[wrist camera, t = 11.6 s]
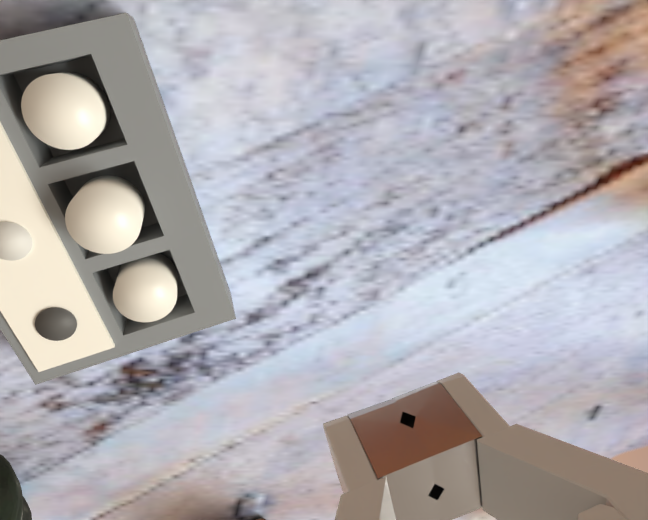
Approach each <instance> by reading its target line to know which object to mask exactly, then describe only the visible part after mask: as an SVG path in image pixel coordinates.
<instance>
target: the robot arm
mask: <svg viewBox="0 0 648 520" xmlns="http://www.w3.org/2000/svg"><path fill="white" fill-rule="evenodd" d="M323 427H324V431H325V434H326V438H327V441H328V445H329V448H330V452H331V455H332V459H333V462H334V465H335V469H336V472H337V475H338V478H339V481H340V485H341V488H342V491H343V493H344V494H342V495H341V497H340V501H339V505H338V509H337V513H336V517H335V520H452V519H455V518H457V517H460V516H462V515H465V514H468V513H470V512H473V511H475V510H478V509H480V508H483V510H484V511H485V512H487V513H488V514H490V515H491V516H493V517H495V518H496V519H498V520H648V473H646V472H643V471H641V470H638V469H635V468H633V467H630V466H627V465H625V464H622V463H619V462H617V461H614V460H611V459H609V458H606V457H604V456H601V455H598V454H596V453H593V452H590V451H588V450H585V449H582V448H580V447H577V446H574V445H572V444H569V443H566V442H564V441H561V440H558V439H556V438H553V437H551V436H548V435H545V434H543V433H540V432H537V431H535V430H532V429H529V428H527V427H524V426H521V425H519V424H515V425H512V426H509V425H508V424H507V423H506V421H505V420H504V419H503V418H502V417H501V416H500V415H499V414H498V412H497V411H496V410H495V409H494V408H493V407H492V406H491V405H490V404H489V402H488V401H487V400H486V399H485V398H484V397H483V396H482V395H481V394H480V392H479V391H478V390H477V389H476V388H475V387H474V386H473V385H472V383H471V382H470V381H469V380H468V379H467V378H466V377H465V376H464V375H463V374H461V373H456V374H454V375H451V376H449V377H446V378H443V379H441V380H438V381H437V382H433V383H431V384H428V385H426V386H423V387H420V388H418V389H415V390H413V391H410V392H408V393H405V394H402V395H400V396H397V397H395V398H392V399H391V400H388V401H385V402H382V403H379V404H376V405H373V406H371V407H368V408H365V409H362V410H359V411H356V412H353V413H351V414H348V415H347V416H344V417H341V418H338V419H335V420H332V421H329V422H326V423H323Z"/></svg>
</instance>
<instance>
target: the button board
mask: <svg viewBox="0 0 648 520" xmlns="http://www.w3.org/2000/svg"><path fill="white" fill-rule="evenodd" d="M62 72H73V73H78V74H81V75H84V76H86V77H88V78H90V79H91V80H93V81H94V82H95V83H96V84H97V85H98V86H99V87H100V88H101V89H102V90H103V92H104V93H105V95H106V97H107V99H108V102H109V105H110V119H109V123H108V125H107V127H106V129H105V130H104V131H103V132H102V133H101V134H100V135H99V136H98V137H97V138H96V139H95V140H94V141H93V142H92V143H90V144H89V145H87V146H85V147H82V148H79V149H74V150H64V149H58V148H55V147H52V146H50V145H48V144H46V143H44V142H42V141H41V140H40V139H38V138H37V137H36V136H35V135H34V134H33V133H32V132H31V131H30V129H29V128H28V126H27V125H26V123H25V121H24V118H23V115H22V110H21V101H22V96H23V93H24V91H25V89H26V88H27V86H28V85H29V84H30V83H31V82H32V81H33V80H35V79H36V78H38V77H40V76H43V75H47V74H54V73H62ZM106 175H109V176H117V177H120V178H123V179H125V180H127V181H129V182H130V183H132V184H133V185H134V186H135V187H136V188H137V189H138V190H139V192H140V193H141V195H142V197H143V200H144V204H145V214H144V218H143V222H142V226H141V230H140V233H139V236H138V238H137V239H136V241H135V242H134V243H133V244H132V245H131V246H130V247H128V248H127V249H125V250H123V251H120V252H117V253H112V254H100V253H95V252H92V251H89V250H87V249H85V248H83V247H82V246H80V245H79V244H78V243H77V242H76V241H75V240H74V239H73V238H72V237H71V235H70V234H69V232H68V230H67V227H66V223H65V213H66V209H67V207H68V205H69V203H70V201H71V200H72V199H73V198H74V196H75V195H76V194H77V192H78V191H79V190H80V189H81V187H82V186H83V185H84V184H85V183H86V182H88V181H89V180H91V179H93V178H95V177H99V176H106ZM157 253H160V254H162V255H164V256H166V257H167V258H168V259H169V260H171V262H172V263H173V264H174V266H175V268H176V270H177V275H178V281H177V301H176V304H175V306H174V308H173V309H172V311H171V312H170V313H169V314H168V315H166V316H165V317H163V318H162V319H159V320H157V321H153V322H137V321H133V320H131V319H128V318H127V317H125V316H124V315H122V314H121V313H120V312H119V311H118V309H117V308H116V306H115V304H114V301H113V289H114V286H115V283H116V279H117V276H118V273H119V269H120V267H121V265H122V264H124V263H127V262H130V261H134V260H137V259H140V258H144V257H147V256H150V255H154V254H157ZM233 319H236V317H235V312H234V307H233V302H232V297H231V293H230V290H229V287H228V284H227V282H226V279H225V276H224V273H223V270H222V267H221V265H220V262H219V259H218V256H217V253H216V250H215V248H214V245H213V242H212V239H211V236H210V233H209V231H208V228H207V225H206V222H205V219H204V216H203V213H202V211H201V208H200V205H199V202H198V199H197V196H196V194H195V191H194V188H193V185H192V182H191V179H190V177H189V174H188V171H187V168H186V165H185V162H184V160H183V157H182V154H181V151H180V148H179V145H178V143H177V140H176V137H175V134H174V131H173V128H172V126H171V123H170V120H169V117H168V114H167V111H166V109H165V106H164V103H163V100H162V97H161V94H160V92H159V89H158V86H157V83H156V80H155V77H154V75H153V72H152V69H151V66H150V63H149V60H148V57H147V55H146V52H145V49H144V46H143V43H142V40H141V38H140V35H139V32H138V29H137V26H136V23H135V21H134V18H133V17H132V16H130V15H129V14H128V13H123V14H118V15H114V16H109V17H105V18H100V19H96V20H91V21H86V22H82V23H77V24H73V25H68V26H64V27H59V28H54V29H50V30H45V31H41V32H36V33H32V34H27V35H23V36H18V37H13V38H9V39H4V40H0V330H1V331H2V333H3V335H4V336H5V338H6V339H7V341H8V342H9V344H10V345H11V347H12V349H13V350H14V352H15V353H16V355H17V356H18V358H19V360H20V361H21V363H22V364H23V366H24V367H25V369H26V370H27V372H28V374H29V375H30V377H31V378H32V380H33V381H34V383H35V385H36V384H39V383H42V382H45V381H48V380H51V379H54V378H57V377H60V376H63V375H66V374H69V373H72V372H75V371H78V370H81V369H84V368H87V367H90V366H93V365H96V364H99V363H102V362H105V361H108V360H111V359H115V358H118V357H121V356H124V355H127V354H130V353H133V352H136V351H139V350H142V349H145V348H148V347H151V346H154V345H157V344H160V343H163V342H166V341H169V340H172V339H175V338H178V337H181V336H184V335H187V334H190V333H193V332H196V331H199V330H202V329H205V328H208V327H211V326H214V325H217V324H221V323H224V322H227V321H230V320H233Z"/></svg>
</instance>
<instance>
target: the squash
mask: <svg viewBox="0 0 648 520" xmlns="http://www.w3.org/2000/svg"><path fill="white" fill-rule="evenodd" d="M0 520H32V516H31V511H30V508H29V506H28V504H27V502H26V500H25V499H24V497H23V496H22V490H21V486H20V483H19V480H18V478H17V476H16V474H15V472H14V470H13V469H12V466H11V465H10V463H9V462H8V461H7V460H6V459H5V458H4V457H3V456H2V455H0Z"/></svg>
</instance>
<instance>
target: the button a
mask: <svg viewBox="0 0 648 520" xmlns="http://www.w3.org/2000/svg"><path fill="white" fill-rule="evenodd" d="M21 110H22V115H23V118H24V121H25V123H26V125H27V126H28V128H29V129H30V131H31V132H32V133H33V134H34V135H35V136H36V137H37V138H38V139H40V140H41V141H42V142H44V143H46V144H48V145H50V146H52V147H55V148H58V149H64V150H74V149H79V148H82V147H85V146H87V145H89V144H90V143H92V142H93V141H94V140H95V139H96V138H97V137H98V136H99V135H100V134H101V133H102V132H103V131H104V130H105V129H106V127H107V125H108V123H109V119H110V105H109V102H108V99H107V97H106V95H105V93H104V92H103V90H102V89H101V88H100V87H99V86H98V85H97V84H96V83H95V82H94V81H93V80H91V79H90V78H88V77H86V76H84V75H81V74H78V73H73V72H62V73H54V74H47V75H43V76H40V77H38V78H36V79H35V80H33V81H32V82H31V83H30V84H29V85H28V86H27V88H26V89H25V91H24V93H23V96H22V101H21Z"/></svg>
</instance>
